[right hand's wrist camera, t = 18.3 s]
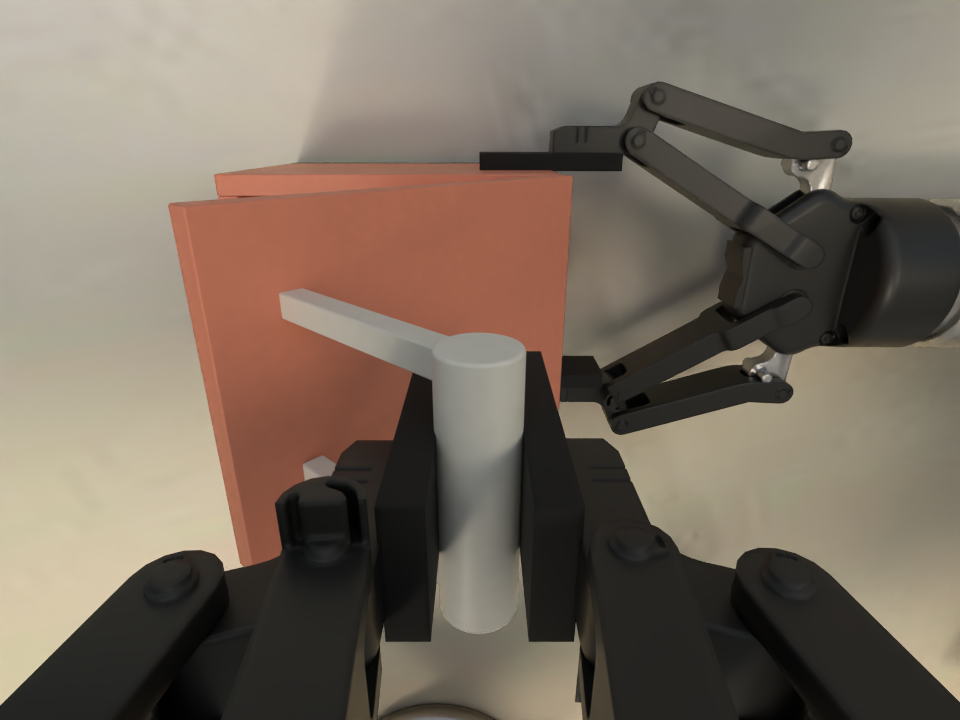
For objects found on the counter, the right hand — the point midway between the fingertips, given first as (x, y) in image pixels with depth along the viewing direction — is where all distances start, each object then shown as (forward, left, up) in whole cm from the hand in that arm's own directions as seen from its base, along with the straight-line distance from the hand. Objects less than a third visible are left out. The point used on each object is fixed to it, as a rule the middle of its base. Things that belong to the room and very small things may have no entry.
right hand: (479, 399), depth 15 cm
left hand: (0, 0, -15) cm, 15 cm away
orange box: (-1, +2, -5) cm, 5 cm away
